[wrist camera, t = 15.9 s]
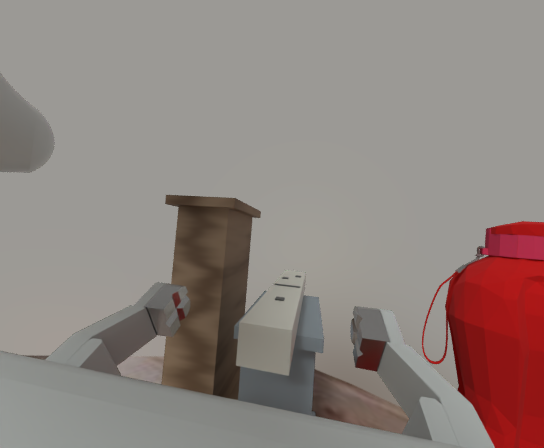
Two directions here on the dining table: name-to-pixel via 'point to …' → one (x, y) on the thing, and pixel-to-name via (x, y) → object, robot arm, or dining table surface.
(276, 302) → the domino bar
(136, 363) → the dining table surface
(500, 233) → the water bottle
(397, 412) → the dining table surface
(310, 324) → the slate stand
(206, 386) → the walnut pedestal
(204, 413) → the robot arm
